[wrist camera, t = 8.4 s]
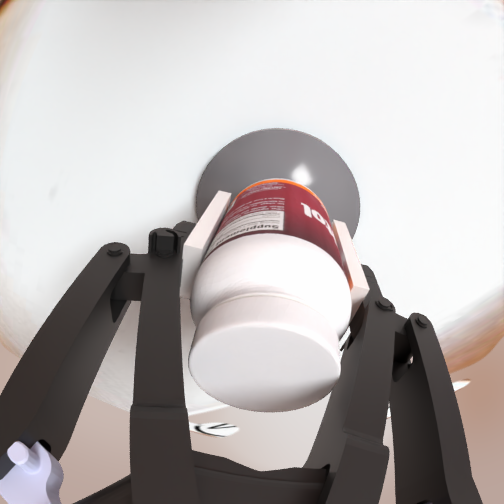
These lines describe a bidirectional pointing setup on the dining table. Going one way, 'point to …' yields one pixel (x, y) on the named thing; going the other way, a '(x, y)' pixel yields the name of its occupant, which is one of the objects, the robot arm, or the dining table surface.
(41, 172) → the dining table surface
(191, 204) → the dining table surface
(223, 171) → the coaster
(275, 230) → the pill bottle
